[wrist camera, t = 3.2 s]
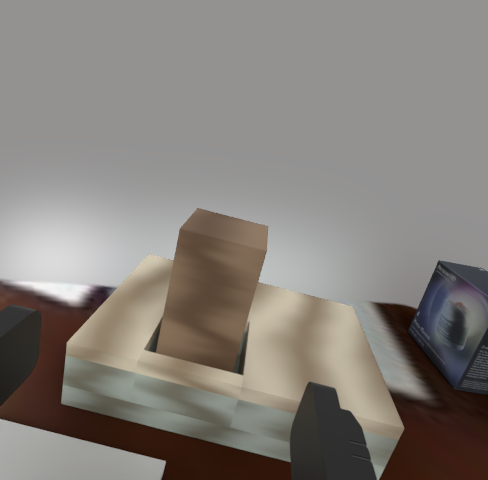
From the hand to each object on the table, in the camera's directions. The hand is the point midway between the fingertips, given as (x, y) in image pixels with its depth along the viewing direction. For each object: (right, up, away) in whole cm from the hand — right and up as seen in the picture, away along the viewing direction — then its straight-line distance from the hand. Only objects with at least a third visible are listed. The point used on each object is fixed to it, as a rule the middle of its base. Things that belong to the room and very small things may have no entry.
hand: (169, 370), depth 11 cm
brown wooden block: (-2, -6, +18) cm, 19 cm away
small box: (+26, -10, +32) cm, 43 cm away
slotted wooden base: (+1, -7, +22) cm, 23 cm away
